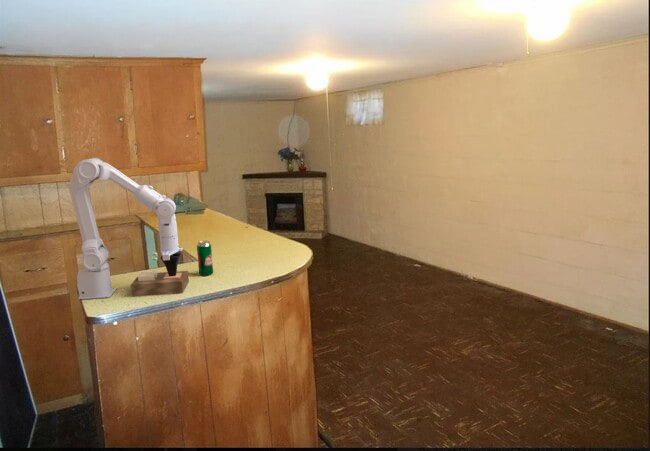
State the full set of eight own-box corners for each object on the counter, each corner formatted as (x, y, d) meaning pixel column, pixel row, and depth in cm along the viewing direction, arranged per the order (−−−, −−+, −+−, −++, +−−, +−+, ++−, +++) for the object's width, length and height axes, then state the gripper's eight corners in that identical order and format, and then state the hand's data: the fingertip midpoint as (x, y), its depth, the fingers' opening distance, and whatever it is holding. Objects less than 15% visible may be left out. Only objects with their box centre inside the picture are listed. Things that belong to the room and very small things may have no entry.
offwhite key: (138, 283, 163) (137, 276, 163) (142, 279, 168) (141, 272, 167) (154, 282, 164) (153, 275, 163) (157, 278, 168) (156, 271, 168)
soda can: (208, 276, 178) (205, 244, 176) (196, 275, 180) (193, 243, 178) (216, 272, 183) (213, 241, 181) (204, 271, 185) (201, 240, 183)
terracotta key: (164, 285, 164) (163, 278, 164) (167, 280, 169) (166, 273, 168) (179, 284, 165) (178, 277, 164) (182, 279, 169) (181, 272, 169)
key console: (131, 296, 160) (130, 284, 159) (141, 284, 172) (140, 273, 171) (182, 293, 162) (181, 281, 161) (188, 281, 173) (187, 270, 173)
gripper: (177, 240, 157) (181, 281, 160) (184, 230, 171) (188, 268, 174) (154, 241, 156) (158, 283, 159) (163, 231, 170) (167, 270, 173)
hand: (172, 275), depth 166 cm, fingers closed, pressing on terracotta key
